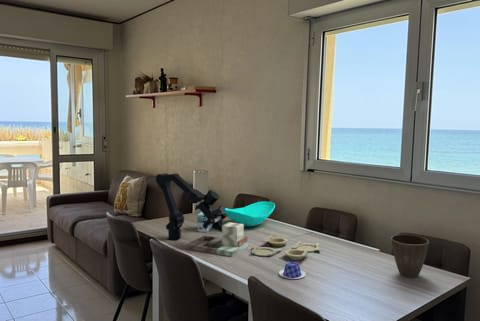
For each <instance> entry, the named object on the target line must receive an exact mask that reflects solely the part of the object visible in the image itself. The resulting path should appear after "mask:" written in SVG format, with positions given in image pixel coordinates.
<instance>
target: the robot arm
mask: <svg viewBox="0 0 480 321" xmlns="http://www.w3.org/2000/svg"><path fill="white" fill-rule="evenodd" d="M155 182H156V184H157V186H158V187H159V189H161V191H162V195H163V197H164V199H165V200H164V201H165V202H166V205H167V208H168V212H169V213H168V214H169V215H168V223H167V224H166V225H165V229H166V230H167V232H168V234H167V235H168V236H167V239H166V240H169V241H179V240H180V239H181V238H182V230H181V228H182V226H183V224H184V222H185V216H184V213H183V211H181V212H180V210H178V206H177V204H176V201H175V198H174V195H173V191H172V188H171V185H172V182H173V183H174V184H175V185H176V186H177V187H178V188H179V189H180V190H182V191H183V192H184V193H185V194H186V195H187V197H186V198H187V199H188V200H189V201H190V203H192V204H193V205H194V204H196V205H195V209H194V210H195V211H197V210H200V213H201V212H202V213H203V214H204V216H203V217H204V218H205V217H206V218H207V219H208V220H207V221H206V222H205V223H204V224H203V228H204V229H207V228H208V226H209V225H210V224H212V227H211V229H214V230H217V231H218V232H221V233H222V225H224V222H223V221H224V220H225V219H226V218H228V217H227V216H228V215H227V214H226V213H223V212H225V208H226V207H225V206H224V205H223V204H221V205H219V206H218V207H217V208H214V207H213V208H212V206H213V205H214V204H215V203H216V202H217V201H218V200H219V199H220V195H219V194H218V193H217V192H216V191H213V190H212V189H210V190H208V192H207V193H206V194H203V193H202V192H201V191H200V190H198V189H195V188H193V187H192V185H190V184H189V183H188V182H186V180H185V179H183V178H182V177H181V176H180V174H179V173H176V172H175V173H170V174H169V173H167V172H165V173H159V174H156V176H155Z"/></svg>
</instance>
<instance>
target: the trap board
mask: <svg viewBox="0 0 480 321" xmlns="http://www.w3.org/2000/svg"><path fill="white" fill-rule="evenodd" d="M248 237H249V236H247V235H246V236H244V238H242V239H241V240H239V241H238V246H233V245H226V244H222V237H220V236H219V237H217V236H211V235H205V234H204V235H203V236H201V237H198V238H196V239H194V240H192V241H189V242H188V243H186V244H185V249H186V250H190V251H195V252H196V251H197V252H203V253H207V254H208V253H210V254H214V255H219V256H220V255H221V256H227V257H234V256H235V255H238V253H240V252H241V251H243V250H245V248H247V247H249V240H248Z"/></svg>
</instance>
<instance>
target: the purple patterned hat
mask: <svg viewBox="0 0 480 321" xmlns="http://www.w3.org/2000/svg"><path fill="white" fill-rule="evenodd" d="M278 275H279V276H280V277H282V278H285V279H289V280H295V279H296V280H297V279H302V278H304V277H306V276H307V272H306V271H304V270H302V269H301V266H300V263H299V262H296V261H287V262H286V263H285V265H284V268H283V269H281V270H279V271H278Z"/></svg>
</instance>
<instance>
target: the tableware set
mask: <svg viewBox="0 0 480 321" xmlns="http://www.w3.org/2000/svg"><path fill="white" fill-rule="evenodd" d="M263 242H265V243H269V244H270V246H272V247H268V246H267V247H265V246H264V247H263V246H261V247H259V245H252V249H251V254H252V255H255V256H258V257H271V256H273V255H274V256H275V255H276V254H277V253H279V252H281V251H282V250H283V248H276V249H275V248H273V247H283V246H284V245H285V244H287V243H288V242H289V240H288V239H287V238H285V237H279V236H277V237H274V235H273V234H270V235H269V236H268V237H267V238H266V239H265V238H264V239H263ZM319 245H320V243H318V242H315V243H308V242H306V243H305V242H303V243H302V241H298V242H296V243H295V244H294V245H293V246H291V249H289V248H288V249H287V250H285V251H284V252H283V253H284V255H285V256H287V257H288V258H289V259H290V260H293V261H300V260H303V259H304V258H305V257H306V256H307V255H308V253H313V252H314V253H315V252H318V251H321V252H322V248H321V246H319ZM259 250H260V252H257V251H259Z"/></svg>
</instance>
